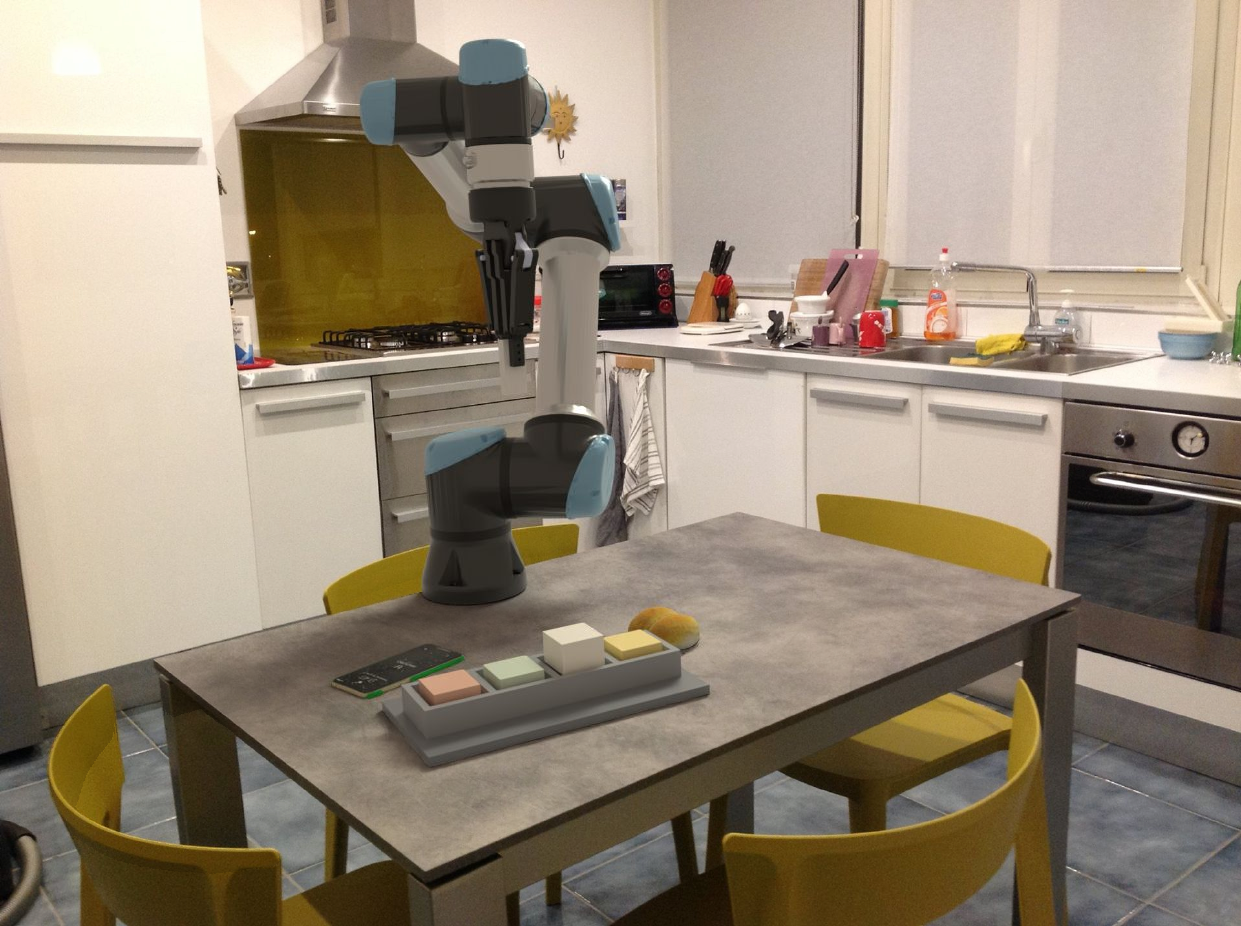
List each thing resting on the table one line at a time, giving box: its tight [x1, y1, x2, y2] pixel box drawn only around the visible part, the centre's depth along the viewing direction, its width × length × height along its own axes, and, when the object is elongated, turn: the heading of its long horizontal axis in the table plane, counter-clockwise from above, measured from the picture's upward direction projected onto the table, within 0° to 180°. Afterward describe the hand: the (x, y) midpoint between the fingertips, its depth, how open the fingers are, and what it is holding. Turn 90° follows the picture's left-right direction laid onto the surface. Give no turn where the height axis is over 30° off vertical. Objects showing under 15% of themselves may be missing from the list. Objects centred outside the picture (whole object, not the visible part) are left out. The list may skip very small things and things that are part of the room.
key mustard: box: [604, 630, 662, 661], centre depth 128 cm, size 5×5×4 cm
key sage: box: [482, 654, 545, 691], centre depth 121 cm, size 5×5×4 cm
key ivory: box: [542, 622, 605, 675], centre depth 124 cm, size 5×5×4 cm
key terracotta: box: [418, 668, 481, 707], centre depth 118 cm, size 5×5×4 cm
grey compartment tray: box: [381, 630, 711, 768], centre depth 123 cm, size 16×32×4 cm, turn 118°
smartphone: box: [330, 643, 465, 699], centre depth 134 cm, size 8×1×15 cm
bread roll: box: [627, 606, 701, 651], centre depth 140 cm, size 8×9×4 cm
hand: (514, 393), depth 132 cm, fingers closed
